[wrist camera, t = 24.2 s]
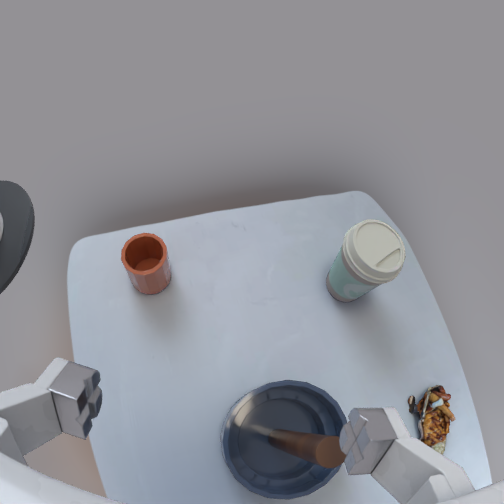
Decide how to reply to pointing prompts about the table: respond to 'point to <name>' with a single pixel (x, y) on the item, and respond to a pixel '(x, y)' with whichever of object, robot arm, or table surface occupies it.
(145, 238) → the crock
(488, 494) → the robot arm
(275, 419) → the bowl
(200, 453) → the table surface
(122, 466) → the table surface
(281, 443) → the brown wooden rod
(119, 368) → the table surface
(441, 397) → the loaded food tray
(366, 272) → the coffee cup
